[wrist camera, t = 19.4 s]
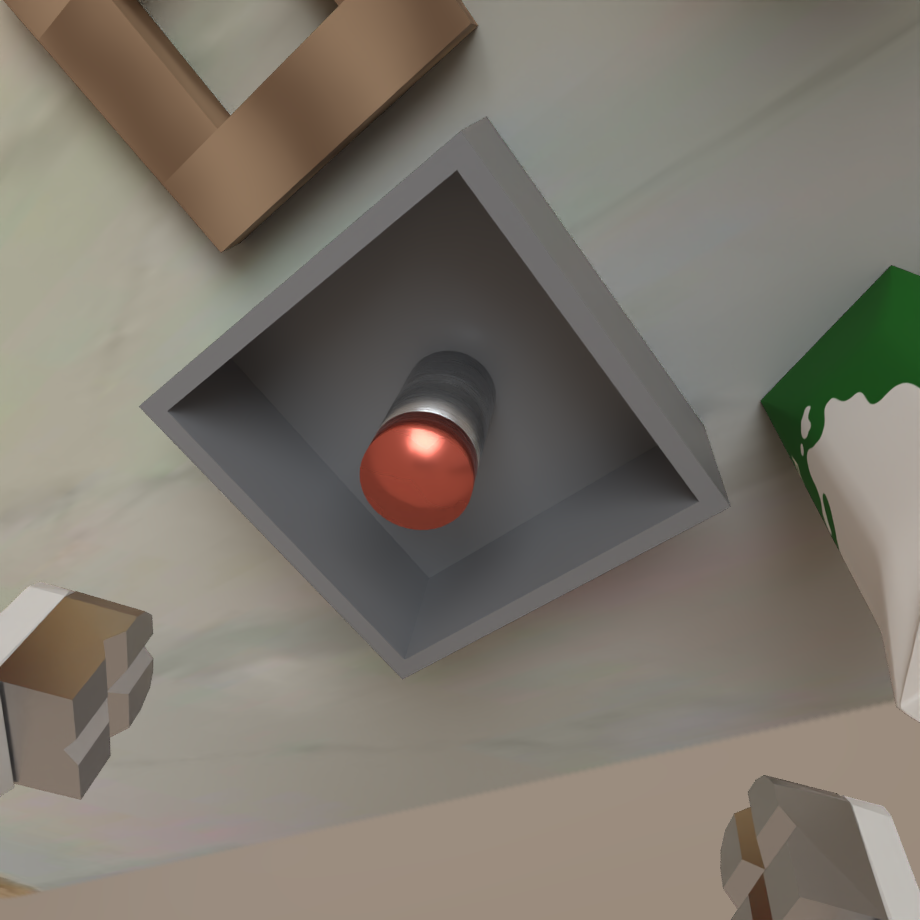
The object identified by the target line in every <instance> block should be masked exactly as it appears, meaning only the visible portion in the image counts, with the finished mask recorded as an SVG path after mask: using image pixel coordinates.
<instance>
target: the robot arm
mask: <svg viewBox="0 0 920 920" xmlns="http://www.w3.org/2000/svg"><path fill="white" fill-rule="evenodd" d="M152 635H153V622H152V615H151V614H149V613H147V612H145V611H142V610H138V609H135V608H131V607H128V606H125V605H121V604H118V603H114V602H111V601H108V600H104V599H101V598H97V597H94V596H91V595H87V594H84V593H80V592H77V591H72V590H68V589H65V588H61V587H58V586H54V585H51V584H47V583H44V582H40V581H39V582H37V583H35V584H33V585H30V586H28V587H27V588H25V589H24V590H23V591H22V592H21V593H20V594H19V595H18V596H17V597H16V598H15V599H14V600H13V601H12V602H11V603H10V604H9V605H8V606H7V607H6V608H5V609H4V610H3V611H2V612H1V613H0V797H1V796H2V795H4V794H5V793H7V792H8V791H10V790H12V789H13V788H14V784H18V785H22V786H26V787H31V788H35V789H39V790H43V791H47V792H51V793H55V794H59V795H63V796H68V797H72V798H76V799H80V800H81V799H82V797H83V796H84V794H85V793H86V791H87V790H88V788H89V787H90V786H91V784H92V783H93V781H94V780H95V778H96V777H97V775H98V774H99V772H100V771H101V769H102V768H103V766H104V765H105V763H106V762H107V760H108V759H109V757H110V756H111V755H110V737H112V736H114V735H116V734H118V733H120V732H122V731H124V730H125V729H127V728H129V727H130V725H131V724H132V722H133V721H134V719H135V718H136V716H137V715H138V713H139V711H140V710H141V708H142V705H143V703H144V700H145V698H146V696H147V693H148V691H149V689H150V684H151V679H152V674H153V657H152V656H151V654H150V653H149V652H148V650H147V649H146V647H145V644H146V643H147V642H148V640H149V639H150V637H151V636H152ZM748 796H749V801H750V807H749V808H747V809H744V810H742V811H739V812H737V813H735V814H734V815H733V817H732V819H731V821H730V823H729V824H728V826H727V828H726V830H725V833H724V838H723V843H722V847H721V867H720V868H721V876H722V884H723V889H724V890H725V892H726V893H727V894H728V896H729V897H730V899H731V900H732V902H733V903H734V904H735V906H736V907H737V909H738V910H737V911H736V913H735V914H734V916H733V917H732V919H731V920H920V890H919V888H918V885H917V883H916V880H915V878H914V875H913V872H912V869H911V867H910V864H909V861H908V859H907V856H906V854H905V851H904V848H903V846H902V843H901V840H900V838H899V835H898V832H897V830H896V827H895V825H894V822H893V819H892V817H891V815H890V813H889V812H888V811H887V810H886V809H885V808H884V806H882V805H878V804H874V803H870V802H866V801H863V800H859V799H855V798H851V797H847V796H844V795H843V796H840V795H839V794H837V793H833V792H829V791H825V790H821V789H817V788H813V787H809V786H805V785H802V784H798V783H794V782H790V781H786V780H782V779H778V778H774V777H770V776H766V775H763V776H762V777H760V778H758V779H757V780H755V782H754V784H753V785H752V787H751V788H750V790H749V791H748Z"/></svg>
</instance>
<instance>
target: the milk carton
mask: <svg viewBox="0 0 920 920" xmlns="http://www.w3.org/2000/svg"><path fill="white" fill-rule="evenodd" d="M761 403H762V405H763V407H764V408H765V410H766V412H767V414H768V416H769V418H770V420H771V422H772V424H773V426H774V427H775V429H776V431H777V433H778V435H779V437H780V439H781V441H782V443H783V445H784V447H785V449H786V450H787V452H788V454H789V456H790V458H791V460H792V462H793V464H794V466H795V468H796V470H797V472H798V473H799V475H800V477H801V479H802V481H803V483H804V485H805V487H806V488H807V490H808V492H809V494H810V496H811V498H812V500H813V502H814V504H815V506H816V507H817V509H818V511H819V513H820V515H821V517H822V519H823V521H824V523H825V525H826V527H827V529H828V530H829V532H830V534H831V536H832V538H833V540H834V542H835V544H836V546H837V548H838V550H839V551H840V553H841V555H842V557H843V559H844V561H845V563H846V565H847V567H848V569H849V571H850V573H851V574H852V576H853V578H854V580H855V582H856V584H857V586H858V588H859V590H860V592H861V594H862V596H863V597H864V599H865V601H866V603H867V605H868V607H869V609H870V611H871V613H872V615H873V617H874V619H875V621H876V623H877V625H878V627H879V629H880V631H881V634H882V639H883V644H884V649H885V654H886V659H887V663H888V668H889V673H890V678H891V683H892V688H893V693H894V698H895V703H896V707H897V708H898V709H899V710H901V711H902V712H904V713H905V714H907V715H908V716H910V717H911V718H913V719H914V720H916V721H918V722H919V723H920V276H919V275H916V274H913V273H911V272H908V271H905V270H903V269H900V268H898V267H895V266H892V265H891V266H890V267H889V268H888V269H887V270H886V271H885V272H884V273H883V274H882V275H881V276H880V277H879V279H878V280H877V281H876V282H875V283H874V284H873V285H872V286H871V287H870V288H869V289H868V290H867V291H866V292H865V293H864V294H863V295H862V296H861V297H860V298H859V299H858V300H857V301H856V302H855V303H854V304H853V305H852V306H851V308H850V309H849V310H848V311H847V312H846V313H845V314H844V315H843V316H842V317H841V318H840V319H839V320H838V321H837V322H836V323H835V324H834V325H833V326H832V327H831V328H830V329H829V330H828V331H827V332H826V333H825V334H824V336H823V337H822V338H821V339H820V340H819V341H818V342H817V343H816V344H815V345H814V346H813V347H812V348H811V349H810V350H809V351H808V352H807V353H806V354H805V355H804V356H803V357H802V358H801V359H800V360H799V361H798V362H797V363H796V365H795V366H794V367H793V368H792V369H791V370H790V371H789V372H788V373H787V374H786V375H785V376H784V377H783V378H782V379H781V380H780V381H779V382H778V383H777V384H776V385H775V386H774V387H773V388H772V389H771V390H770V391H769V392H768V394H767V395H766V396H765V397H764V398H763V399H762V400H761Z"/></svg>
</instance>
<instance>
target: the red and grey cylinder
mask: <svg viewBox="0 0 920 920" xmlns="http://www.w3.org/2000/svg"><path fill="white" fill-rule="evenodd" d="M495 401H496V390H495V385H494V382H493V379H492V377H491V375H490V374H489V372H488V371H487V369H486V368H485V367H484V366H483V365H482V364H481V363H480V362H479V361H477V360H476V359H475V358H473V357H471V356H469V355H467V354H464V353H461V352H457V351H440V352H435V353H432V354H430V355H428V356H426V357H424V358H423V359H421V360H420V361H419V362H418V363H417V364H416V365H415V366H414V367H413V369H412V370H411V372H410V374H409V376H408V377H407V379H406V381H405V383H404V384H403V386H402V388H401V390H400V392H399V393H398V395H397V397H396V399H395V401H394V402H393V404H392V406H391V408H390V409H389V411H388V413H387V415H386V417H385V418H384V420H383V422H382V424H381V426H380V427H379V429H378V431H377V433H376V434H375V436H374V438H373V440H372V442H371V443H370V445H369V447H368V449H367V450H366V452H365V454H364V456H363V459H362V461H361V465H360V483H361V488H362V490H363V493H364V495H365V497H366V499H367V501H368V502H369V504H370V505H371V506H372V507H373V509H374V510H375V511H376V512H377V513H378V514H380V515H381V516H382V517H383V518H385V519H386V520H388V521H390V522H391V523H393V524H396V525H398V526H401V527H404V528H408V529H413V530H430V529H436V528H439V527H442V526H445V525H447V524H449V523H451V522H452V521H454V520H455V519H456V518H458V517H459V516H460V515H461V514H462V513H463V511H464V510H465V508H466V507H467V505H468V503H469V501H470V498H471V495H472V491H473V487H474V483H475V480H476V476H477V472H478V468H479V464H480V460H481V456H482V453H483V449H484V445H485V441H486V437H487V433H488V430H489V426H490V422H491V418H492V414H493V410H494V407H495Z"/></svg>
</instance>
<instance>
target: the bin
mask: <svg viewBox="0 0 920 920" xmlns="http://www.w3.org/2000/svg"><path fill="white" fill-rule="evenodd" d="M440 351H457V352H461V353H464V354H467V355H469V356H471V357H473V358H475V359H476V360H477V361H479V362H480V363H481V364H482V365H483V366H484V367H485V368H486V369H487V371H488V372H489V374H490V375H491V377H492V379H493V382H494V385H495V390H496V401H495V407H494V410H493V414H492V418H491V422H490V426H489V430H488V433H487V437H486V441H485V445H484V449H483V453H482V456H481V460H480V464H479V468H478V472H477V476H476V480H475V483H474V487H473V491H472V495H471V498H470V501H469V503H468V505H467V507H466V508H465V510H464V511H463V513H462V514H461V515H460V516H459V517H458V518H456V519H455V520H454V521H452V522H451V523H449V524H447V525H445V526H442V527H439V528H436V529H430V530H413V529H408V528H404V527H401V526H398V525H396V524H393V523H391V522H390V521H388V520H386V519H385V518H383V517H382V516H381V515H380V514H378V513H377V512H376V511H375V510H374V509H373V507H372V506H371V505H370V504H369V502H368V501H367V499H366V497H365V495H364V493H363V490H362V488H361V483H360V465H361V461H362V459H363V456H364V454H365V452H366V450H367V449H368V447H369V445H370V443H371V442H372V440H373V438H374V436H375V434H376V433H377V431H378V429H379V427H380V426H381V424H382V422H383V420H384V418H385V417H386V415H387V413H388V411H389V409H390V408H391V406H392V404H393V402H394V401H395V399H396V397H397V395H398V393H399V392H400V390H401V388H402V386H403V384H404V383H405V381H406V379H407V377H408V376H409V374H410V372H411V370H412V369H413V367H414V366H415V365H416V364H417V363H418V362H419V361H420V360H421V359H423V358H424V357H426V356H428V355H430V354H432V353H435V352H440ZM139 407H140V408H141V409H142V410H143V411H144V412H145V413H146V414H147V415H148V416H149V417H150V418H151V420H152V421H153V422H154V423H155V424H156V425H157V426H158V427H159V428H160V429H161V430H162V431H163V432H164V433H165V434H166V435H167V436H168V437H169V438H170V439H171V440H172V441H173V442H174V443H175V444H176V445H177V446H178V447H179V449H180V450H181V451H182V452H183V453H184V454H185V455H186V456H187V457H188V458H189V459H190V460H191V461H192V462H193V463H194V464H195V465H196V466H197V467H198V468H199V469H200V470H201V471H202V472H203V473H204V474H205V475H206V476H207V477H208V479H209V480H210V481H211V482H212V483H213V484H214V485H215V486H216V487H217V488H218V489H219V490H220V491H221V492H222V493H223V494H224V495H225V496H226V497H227V498H228V499H229V500H230V501H231V502H232V503H233V504H234V505H235V506H236V508H237V509H238V510H239V511H240V512H241V513H242V514H243V515H244V516H245V517H246V518H247V519H248V520H249V521H250V522H251V523H252V524H253V525H254V526H255V527H256V528H257V529H258V530H259V531H260V532H261V533H262V534H263V535H264V536H265V538H266V539H267V540H268V541H269V542H270V543H271V544H272V545H273V546H274V547H275V548H276V549H277V550H278V551H279V552H280V553H281V554H282V555H283V556H284V557H285V558H286V559H287V560H288V561H289V562H290V563H291V564H292V565H293V566H294V568H295V569H296V570H297V571H298V572H299V573H300V574H301V575H302V576H303V577H304V578H305V579H306V580H307V581H308V582H309V583H310V584H311V585H312V586H313V587H314V588H315V589H316V590H317V591H318V592H319V593H320V594H321V595H322V597H323V598H324V599H325V600H326V601H327V602H328V603H329V604H330V605H331V606H332V607H333V608H334V609H335V610H336V611H337V612H338V613H339V614H340V615H341V616H342V617H343V618H344V619H345V620H346V621H347V622H348V623H349V624H350V625H351V627H352V628H353V629H354V630H355V631H356V632H357V633H358V634H359V635H360V636H361V637H362V638H363V639H364V640H365V641H366V642H367V643H368V644H369V645H370V646H371V647H372V648H373V649H374V650H375V651H376V652H377V653H378V654H379V656H380V657H381V658H382V659H383V660H384V661H385V662H386V663H387V664H388V665H389V666H390V667H391V668H392V669H393V670H394V671H395V672H396V673H397V674H398V675H399V676H400V677H401V678H402V679H404V678H406V677H408V676H410V675H412V674H414V673H415V672H417V671H419V670H421V669H423V668H425V667H427V666H429V665H431V664H433V663H434V662H436V661H438V660H440V659H442V658H444V657H446V656H448V655H450V654H452V653H453V652H455V651H457V650H459V649H461V648H463V647H465V646H467V645H469V644H471V643H473V642H474V641H476V640H478V639H480V638H482V637H484V636H486V635H488V634H490V633H492V632H493V631H495V630H497V629H499V628H501V627H503V626H505V625H507V624H509V623H511V622H512V621H514V620H516V619H518V618H520V617H522V616H524V615H526V614H528V613H530V612H531V611H533V610H535V609H537V608H539V607H541V606H543V605H545V604H547V603H549V602H551V601H552V600H554V599H556V598H558V597H560V596H562V595H564V594H566V593H568V592H570V591H571V590H573V589H575V588H577V587H579V586H581V585H583V584H585V583H587V582H589V581H590V580H592V579H594V578H596V577H598V576H600V575H602V574H604V573H606V572H608V571H609V570H611V569H613V568H615V567H617V566H619V565H621V564H623V563H625V562H627V561H629V560H630V559H632V558H634V557H636V556H638V555H640V554H642V553H644V552H646V551H648V550H649V549H651V548H653V547H655V546H657V545H659V544H661V543H663V542H665V541H667V540H668V539H670V538H672V537H674V536H676V535H678V534H680V533H682V532H684V531H686V530H687V529H689V528H691V527H693V526H695V525H697V524H699V523H701V522H703V521H705V520H707V519H708V518H710V517H712V516H714V515H716V514H718V513H720V512H722V511H724V510H726V509H727V508H729V507H731V506H730V503H729V500H728V497H727V494H726V491H725V488H724V485H723V482H722V479H721V476H720V473H719V470H718V467H717V464H716V461H715V458H714V455H713V452H712V449H711V446H710V443H709V440H708V436H707V433H706V430H705V427H704V425H703V424H702V422H701V421H700V420H699V418H698V417H697V415H696V414H695V413H694V411H693V410H692V408H691V407H690V405H689V404H688V403H687V401H686V400H685V398H684V397H683V395H682V394H681V393H680V391H679V390H678V388H677V387H676V385H675V384H674V383H673V381H672V380H671V378H670V377H669V375H668V374H667V373H666V371H665V370H664V368H663V367H662V366H661V364H660V363H659V361H658V360H657V358H656V357H655V356H654V354H653V353H652V351H651V350H650V348H649V347H648V346H647V344H646V343H645V341H644V340H643V338H642V337H641V336H640V334H639V333H638V331H637V330H636V328H635V327H634V326H633V324H632V323H631V321H630V320H629V318H628V317H627V316H626V314H625V313H624V311H623V310H622V309H621V307H620V306H619V304H618V303H617V301H616V300H615V299H614V297H613V296H612V294H611V293H610V291H609V290H608V289H607V287H606V286H605V284H604V283H603V281H602V280H601V279H600V277H599V276H598V274H597V273H596V271H595V270H594V269H593V267H592V266H591V264H590V263H589V262H588V260H587V259H586V257H585V256H584V254H583V253H582V252H581V250H580V249H579V247H578V246H577V244H576V243H575V242H574V240H573V239H572V237H571V236H570V234H569V233H568V232H567V230H566V229H565V227H564V226H563V224H562V223H561V222H560V220H559V219H558V217H557V216H556V214H555V213H554V212H553V210H552V209H551V207H550V206H549V205H548V203H547V202H546V200H545V199H544V197H543V196H542V195H541V193H540V192H539V190H538V189H537V187H536V186H535V185H534V183H533V182H532V180H531V179H530V177H529V176H528V175H527V173H526V172H525V170H524V169H523V167H522V166H521V165H520V163H519V162H518V160H517V159H516V157H515V156H514V155H513V153H512V152H511V150H510V149H509V148H508V146H507V145H506V143H505V142H504V140H503V139H502V138H501V136H500V135H499V133H498V132H497V130H496V129H495V128H494V126H493V125H492V123H491V122H490V120H489V119H488V118H487V117H485V118H483V119H481V120H479V121H478V122H476V123H474V124H472V125H470V126H469V127H467V128H465V129H463V130H461V131H460V132H459V133H458V134H457V135H455V136H454V137H453V138H452V139H451V140H450V141H448V142H447V143H446V144H445V145H444V146H443V147H441V148H440V149H439V150H438V151H437V152H436V153H434V154H433V155H432V156H431V157H430V158H428V159H427V160H426V161H425V162H424V163H423V164H421V165H420V166H419V167H418V168H417V169H416V170H414V171H413V172H412V173H411V174H410V175H409V176H407V177H406V178H405V179H404V180H403V181H402V182H400V183H399V184H398V185H397V186H396V187H395V188H393V189H392V190H391V191H390V192H389V193H388V194H386V195H385V196H384V197H383V198H382V199H381V200H379V201H378V202H377V203H376V204H375V205H374V206H372V207H371V208H370V209H369V210H368V211H367V212H365V213H364V214H363V215H362V216H361V217H360V218H358V219H357V220H356V221H355V222H354V223H353V224H351V225H350V226H349V227H348V228H347V229H346V230H344V231H343V232H342V233H341V234H340V235H339V236H337V237H336V238H335V239H334V240H333V241H331V242H330V243H329V244H328V245H327V246H326V247H324V248H323V249H322V250H321V251H320V252H319V253H317V254H316V255H315V256H314V257H313V258H312V259H310V260H309V261H308V262H307V263H306V264H305V265H303V266H302V267H301V268H300V269H299V270H298V271H296V272H295V273H294V274H293V275H292V276H291V277H289V278H288V279H287V280H286V281H285V282H284V283H282V284H281V285H280V286H279V287H278V288H277V289H275V290H274V291H273V292H272V293H271V294H270V295H268V296H267V297H266V298H265V299H264V300H263V301H261V302H260V303H259V304H258V305H257V306H256V307H254V308H253V309H252V310H251V311H250V312H249V313H247V314H246V315H245V316H244V317H243V318H241V319H240V320H239V321H238V322H237V323H236V324H234V325H233V326H232V327H231V328H230V329H229V330H227V331H226V332H225V333H224V334H223V335H222V336H220V337H219V338H218V339H217V340H216V341H215V342H213V343H212V344H211V345H210V346H209V347H208V348H206V349H205V350H204V351H203V352H202V353H201V354H199V355H198V356H197V357H196V358H195V359H194V360H192V361H191V362H190V363H189V364H188V365H187V366H185V367H184V368H183V369H182V370H181V371H180V372H178V373H177V374H176V375H175V376H174V377H173V378H171V379H170V380H169V381H168V382H167V383H166V384H164V385H163V386H162V387H161V388H160V389H159V390H157V391H156V392H155V393H154V394H153V395H151V396H150V397H149V398H148V399H147V400H146V401H144V402H143V403H142V404H141V405H140V406H139Z"/></svg>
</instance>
